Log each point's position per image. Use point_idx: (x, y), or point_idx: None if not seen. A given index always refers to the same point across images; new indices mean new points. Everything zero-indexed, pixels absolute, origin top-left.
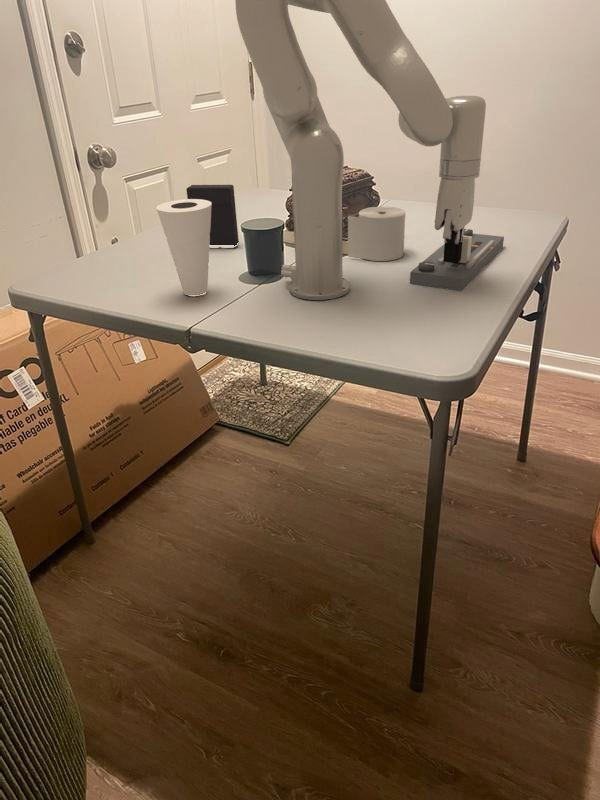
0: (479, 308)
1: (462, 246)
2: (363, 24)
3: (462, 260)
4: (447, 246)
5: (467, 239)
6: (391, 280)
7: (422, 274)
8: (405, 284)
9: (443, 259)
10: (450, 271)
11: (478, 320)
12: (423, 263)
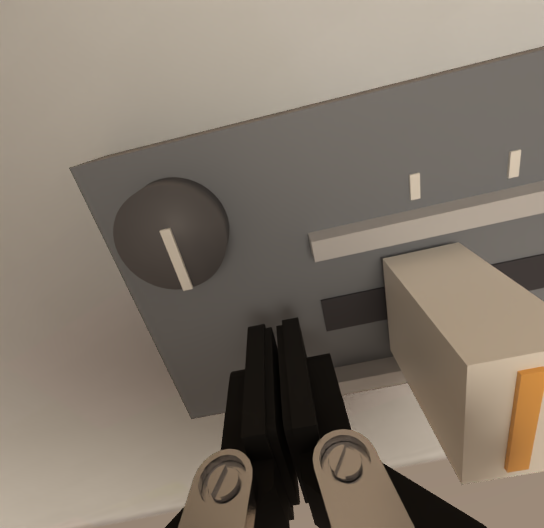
0: (111, 469)
1: (431, 403)
2: None
3: (393, 341)
4: (224, 445)
5: (464, 478)
6: (52, 14)
7: (111, 244)
8: (74, 143)
9: (248, 331)
10: (244, 339)
11: (37, 497)
12: (163, 218)
